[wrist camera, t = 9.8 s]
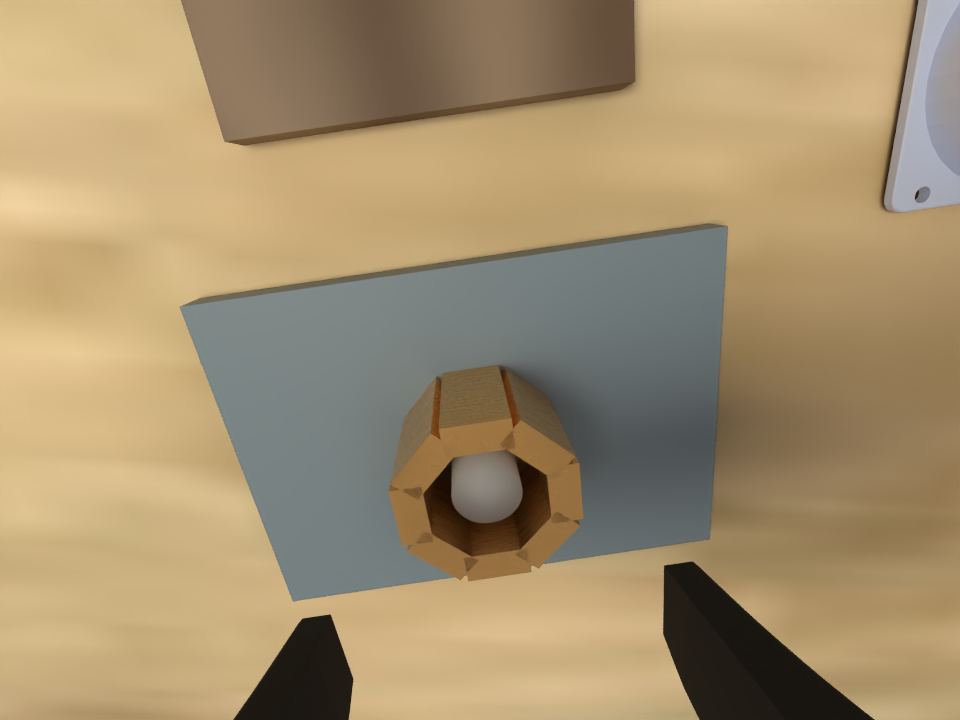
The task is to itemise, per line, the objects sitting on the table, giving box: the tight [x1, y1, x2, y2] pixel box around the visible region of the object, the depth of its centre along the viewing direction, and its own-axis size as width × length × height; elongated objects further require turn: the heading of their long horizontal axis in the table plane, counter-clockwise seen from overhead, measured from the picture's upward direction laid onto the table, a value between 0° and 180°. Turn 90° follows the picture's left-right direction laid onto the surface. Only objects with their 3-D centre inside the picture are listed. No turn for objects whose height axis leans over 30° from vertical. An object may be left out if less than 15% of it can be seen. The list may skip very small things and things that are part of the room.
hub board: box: [180, 224, 728, 601], centre depth 16 cm, size 18×13×4 cm
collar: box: [388, 365, 583, 581], centre depth 15 cm, size 6×6×4 cm
